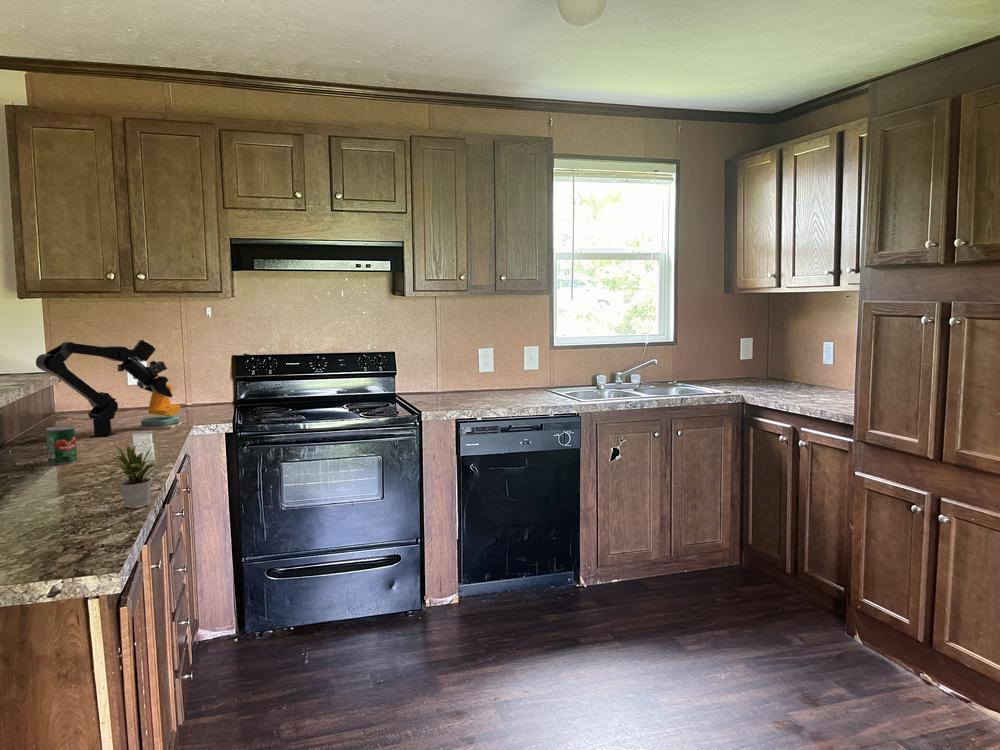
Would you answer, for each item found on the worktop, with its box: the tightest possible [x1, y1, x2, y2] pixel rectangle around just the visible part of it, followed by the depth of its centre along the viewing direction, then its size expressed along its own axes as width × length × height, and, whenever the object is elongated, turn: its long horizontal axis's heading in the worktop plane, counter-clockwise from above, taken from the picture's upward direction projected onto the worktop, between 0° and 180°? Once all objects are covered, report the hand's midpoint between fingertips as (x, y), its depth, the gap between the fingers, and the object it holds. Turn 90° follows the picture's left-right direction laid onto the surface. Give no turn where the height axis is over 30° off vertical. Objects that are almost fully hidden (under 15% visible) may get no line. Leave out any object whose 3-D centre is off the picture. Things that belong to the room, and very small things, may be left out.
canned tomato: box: [45, 425, 78, 466], centre depth 236 cm, size 8×8×11 cm
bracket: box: [147, 383, 181, 416], centre depth 298 cm, size 11×7×12 cm, turn 169°
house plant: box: [106, 443, 163, 507], centre depth 184 cm, size 14×14×16 cm
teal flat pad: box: [134, 415, 187, 430], centre depth 298 cm, size 14×14×3 cm
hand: (168, 395), depth 299 cm, fingers closed on bracket, 6 cm apart
